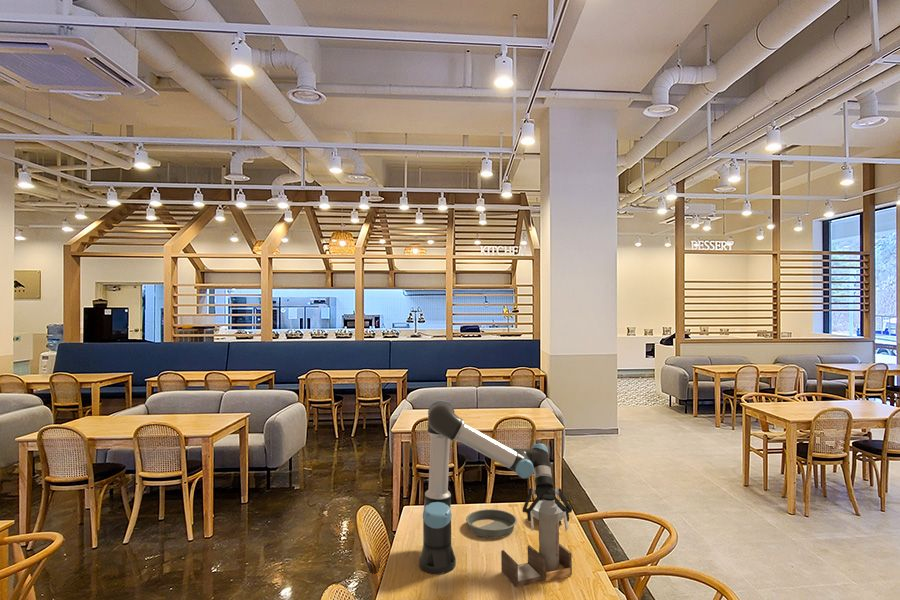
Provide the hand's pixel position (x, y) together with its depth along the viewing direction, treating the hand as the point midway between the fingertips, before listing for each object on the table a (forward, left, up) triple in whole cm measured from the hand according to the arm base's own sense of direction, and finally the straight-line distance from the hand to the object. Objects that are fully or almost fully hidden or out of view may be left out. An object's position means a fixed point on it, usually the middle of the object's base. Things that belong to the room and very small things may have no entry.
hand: (549, 529), depth 198 cm
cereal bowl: (+26, +44, -17) cm, 54 cm away
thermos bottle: (+1, +2, -16) cm, 16 cm away
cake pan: (-4, +47, -18) cm, 50 cm away
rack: (-5, +2, -17) cm, 18 cm away
